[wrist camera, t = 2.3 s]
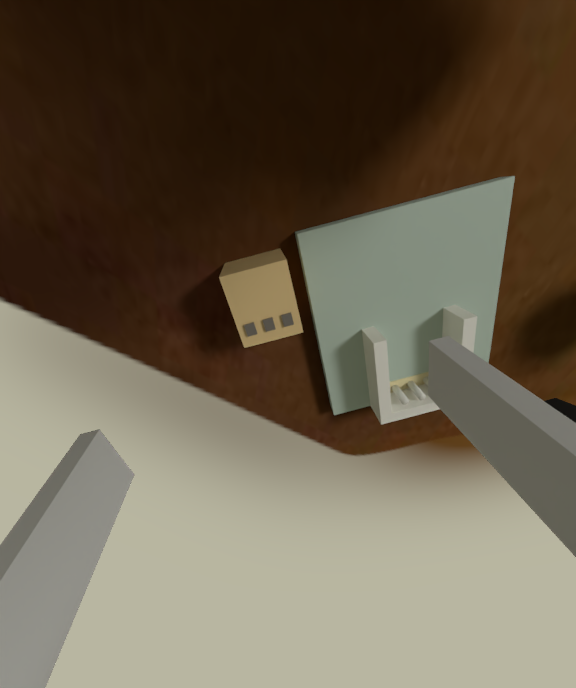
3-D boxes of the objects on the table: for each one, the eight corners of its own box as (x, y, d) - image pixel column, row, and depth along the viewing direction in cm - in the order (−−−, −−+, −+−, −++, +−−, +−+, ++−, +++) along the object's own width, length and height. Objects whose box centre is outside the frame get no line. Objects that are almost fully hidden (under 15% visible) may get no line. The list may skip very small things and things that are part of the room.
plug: (224, 262, 24) (218, 278, 20) (280, 248, 24) (286, 259, 20) (245, 323, 27) (244, 349, 23) (294, 310, 27) (303, 333, 23)
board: (294, 232, 24) (303, 238, 20) (500, 177, 24) (550, 173, 20) (330, 406, 33) (341, 434, 29) (477, 368, 33) (508, 391, 29)
